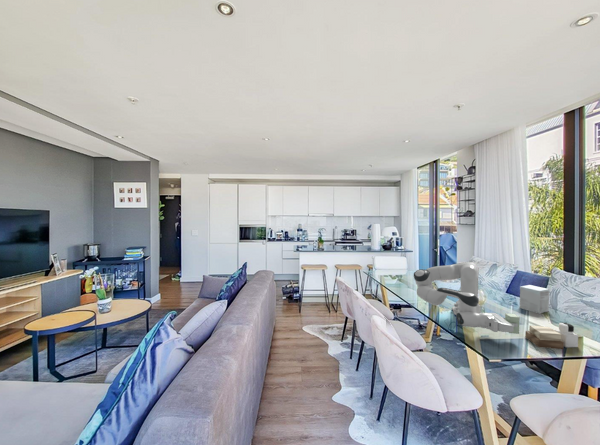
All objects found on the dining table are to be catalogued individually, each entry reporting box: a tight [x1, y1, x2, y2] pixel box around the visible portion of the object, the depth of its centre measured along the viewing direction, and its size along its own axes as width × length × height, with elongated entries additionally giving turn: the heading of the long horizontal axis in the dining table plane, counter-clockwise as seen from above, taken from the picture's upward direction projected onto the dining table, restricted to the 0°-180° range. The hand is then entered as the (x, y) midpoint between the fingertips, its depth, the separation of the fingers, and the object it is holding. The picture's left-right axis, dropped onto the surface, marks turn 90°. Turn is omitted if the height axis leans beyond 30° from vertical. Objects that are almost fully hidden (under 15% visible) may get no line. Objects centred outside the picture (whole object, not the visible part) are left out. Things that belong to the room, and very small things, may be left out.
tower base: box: [524, 330, 564, 350], centre depth 155 cm, size 12×12×4 cm
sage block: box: [504, 312, 520, 335], centre depth 158 cm, size 5×5×10 cm
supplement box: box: [519, 284, 550, 314], centre depth 208 cm, size 13×13×18 cm
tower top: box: [528, 325, 561, 341], centre depth 155 cm, size 10×10×4 cm
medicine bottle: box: [554, 322, 579, 348], centre depth 154 cm, size 7×7×12 cm
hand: (513, 322), depth 158 cm, fingers closed on sage block, 5 cm apart
